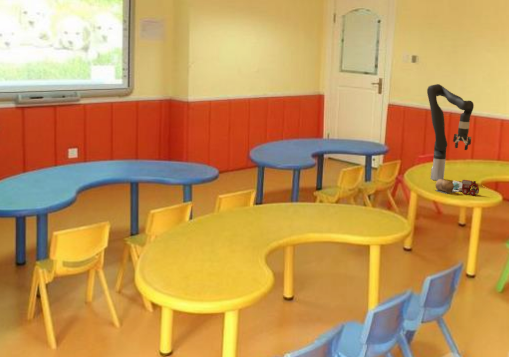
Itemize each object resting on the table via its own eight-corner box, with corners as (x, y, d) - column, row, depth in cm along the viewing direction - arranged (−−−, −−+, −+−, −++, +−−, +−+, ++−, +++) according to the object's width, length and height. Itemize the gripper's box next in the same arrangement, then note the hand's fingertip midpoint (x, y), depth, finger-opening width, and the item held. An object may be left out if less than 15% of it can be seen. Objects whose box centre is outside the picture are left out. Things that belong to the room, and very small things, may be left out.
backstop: (446, 187, 489) (447, 181, 488) (452, 186, 493) (453, 180, 492) (459, 191, 481) (459, 184, 479) (465, 190, 484) (465, 183, 483)
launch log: (435, 190, 481) (436, 179, 479) (442, 189, 486) (443, 178, 484) (446, 193, 473) (447, 182, 471) (453, 192, 478) (454, 181, 476)
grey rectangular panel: (435, 190, 481) (435, 190, 481) (453, 187, 493) (453, 187, 493) (445, 193, 473) (446, 193, 473) (464, 190, 485) (464, 190, 485)
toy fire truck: (477, 196, 468) (478, 182, 466) (459, 194, 474) (461, 180, 472) (479, 194, 474) (480, 180, 472) (461, 192, 480) (463, 178, 478)
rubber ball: (455, 181, 488) (450, 182, 486) (460, 182, 485) (456, 184, 482) (454, 187, 490) (450, 189, 487) (460, 189, 486) (455, 190, 483)
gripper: (474, 128, 481) (472, 150, 485) (459, 125, 492) (456, 147, 496) (468, 129, 477) (465, 151, 480) (452, 126, 488) (450, 147, 492)
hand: (460, 149), depth 488 cm, fingers open, 8 cm apart
